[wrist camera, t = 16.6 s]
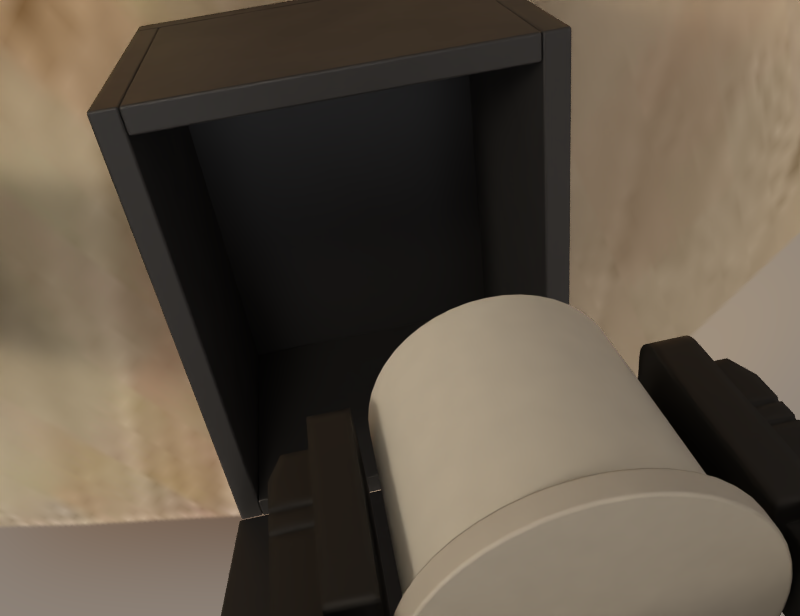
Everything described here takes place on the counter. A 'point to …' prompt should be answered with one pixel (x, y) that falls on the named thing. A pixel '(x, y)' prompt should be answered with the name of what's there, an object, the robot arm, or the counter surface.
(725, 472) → the robot arm
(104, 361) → the counter surface
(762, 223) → the counter surface
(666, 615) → the coffee pod
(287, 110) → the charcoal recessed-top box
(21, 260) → the counter surface
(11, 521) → the counter surface
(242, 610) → the charcoal box lid
